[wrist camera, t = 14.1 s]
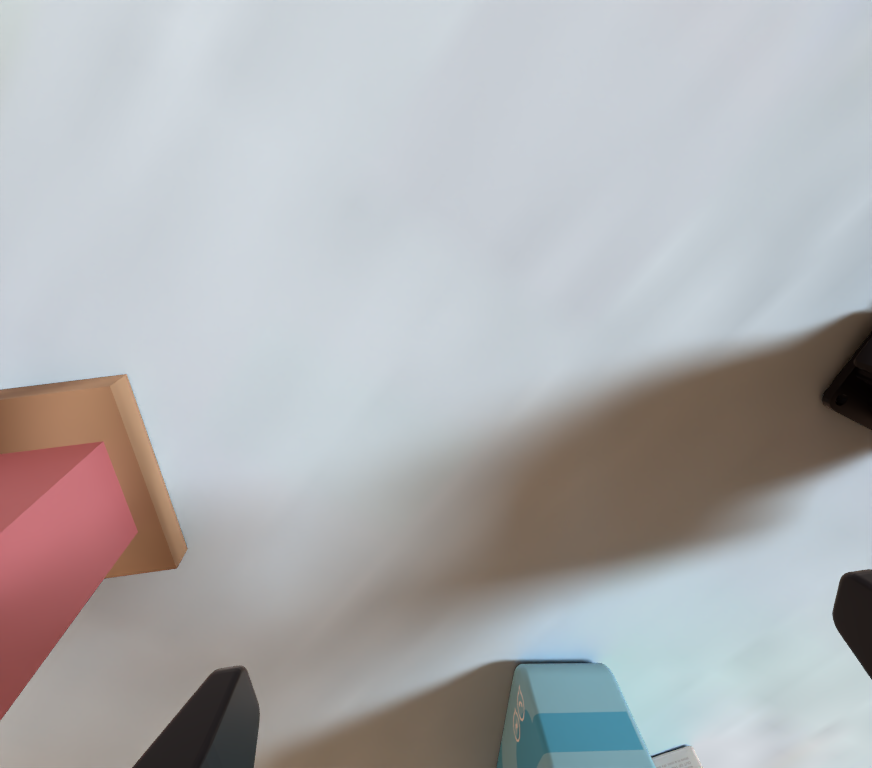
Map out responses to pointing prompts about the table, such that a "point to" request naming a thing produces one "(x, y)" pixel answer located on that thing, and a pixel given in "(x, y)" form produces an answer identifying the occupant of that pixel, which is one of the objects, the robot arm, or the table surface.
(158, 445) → the table surface
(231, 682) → the robot arm
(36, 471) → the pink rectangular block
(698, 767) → the supplement box
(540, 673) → the data package
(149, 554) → the tan flat rectangular slab
